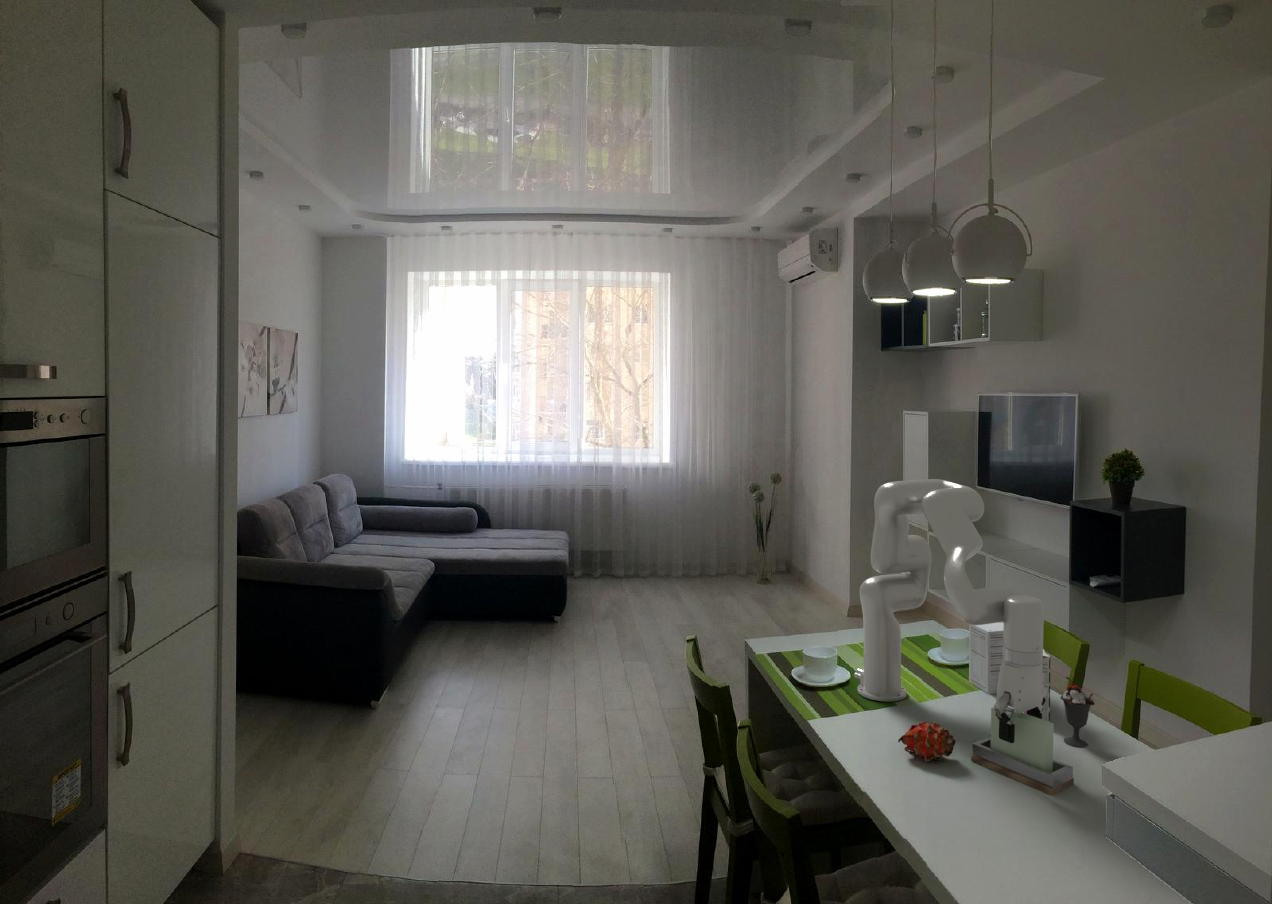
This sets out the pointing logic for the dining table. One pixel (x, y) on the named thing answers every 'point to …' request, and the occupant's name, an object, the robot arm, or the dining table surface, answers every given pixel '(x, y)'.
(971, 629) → the supplement box
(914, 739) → the dragon fruit
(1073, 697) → the sundae
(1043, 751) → the pale green rectangular block
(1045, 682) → the candy bar box
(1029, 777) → the open rectangular box
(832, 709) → the dining table surface
